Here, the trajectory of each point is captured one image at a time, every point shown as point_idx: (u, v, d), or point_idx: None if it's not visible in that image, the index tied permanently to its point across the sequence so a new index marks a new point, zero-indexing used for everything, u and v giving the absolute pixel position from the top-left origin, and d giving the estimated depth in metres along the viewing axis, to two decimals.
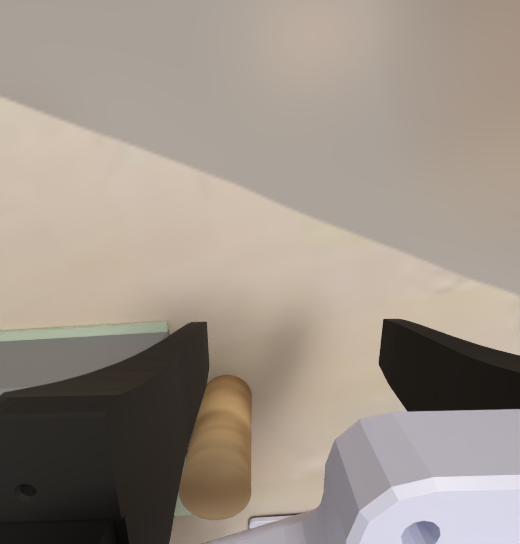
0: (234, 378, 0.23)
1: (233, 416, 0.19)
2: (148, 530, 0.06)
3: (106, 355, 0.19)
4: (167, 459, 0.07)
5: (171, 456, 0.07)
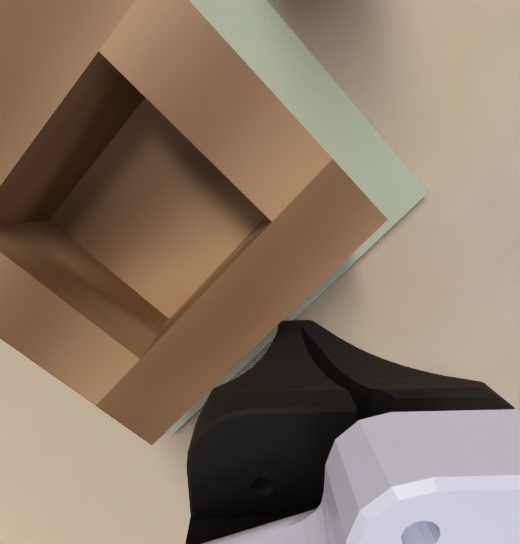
0: None
1: None
2: None
3: None
4: None
5: None
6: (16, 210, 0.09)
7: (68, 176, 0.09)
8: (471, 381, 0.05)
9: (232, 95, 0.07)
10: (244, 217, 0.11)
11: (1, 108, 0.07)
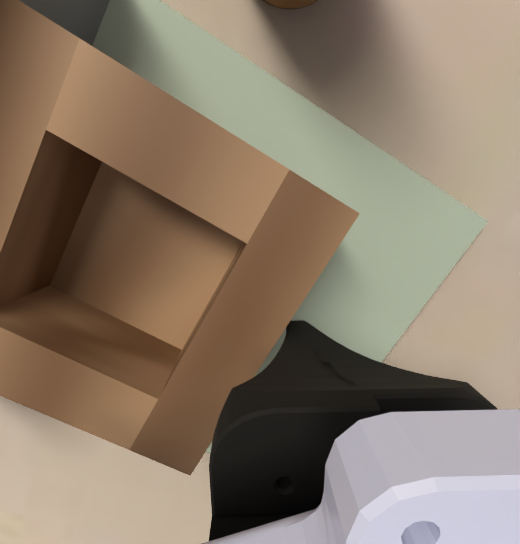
0: None
1: None
2: None
3: None
4: None
5: None
6: (15, 287, 0.09)
7: (55, 242, 0.10)
8: (456, 381, 0.05)
9: (177, 135, 0.07)
10: (227, 237, 0.11)
11: None
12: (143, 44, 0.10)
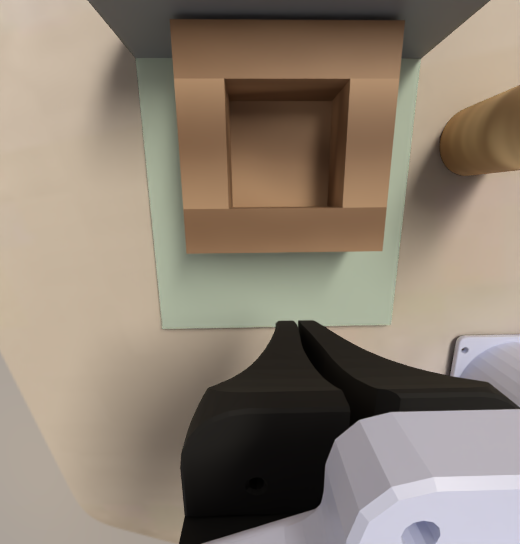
0: None
1: None
2: None
3: None
4: None
5: None
6: (238, 88, 0.14)
7: (267, 96, 0.15)
8: (477, 381, 0.05)
9: (377, 146, 0.13)
10: (317, 196, 0.17)
11: (293, 54, 0.12)
12: None
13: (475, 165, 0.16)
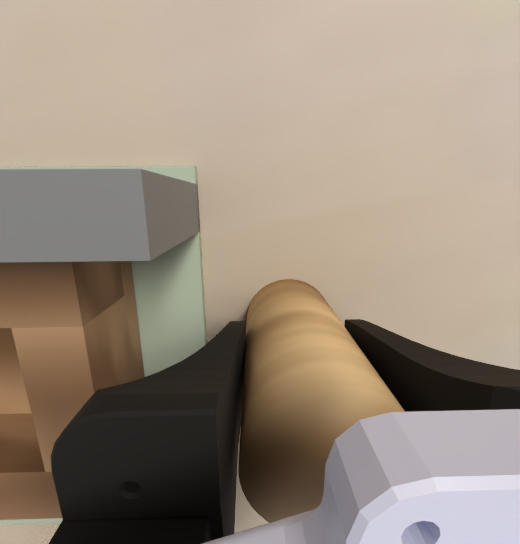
0: (305, 283, 0.13)
1: (332, 321, 0.09)
2: (228, 528, 0.06)
3: None
4: (232, 457, 0.07)
5: (233, 454, 0.07)
6: None
7: None
8: None
9: (73, 404, 0.10)
10: None
11: None
12: (167, 266, 0.13)
13: None
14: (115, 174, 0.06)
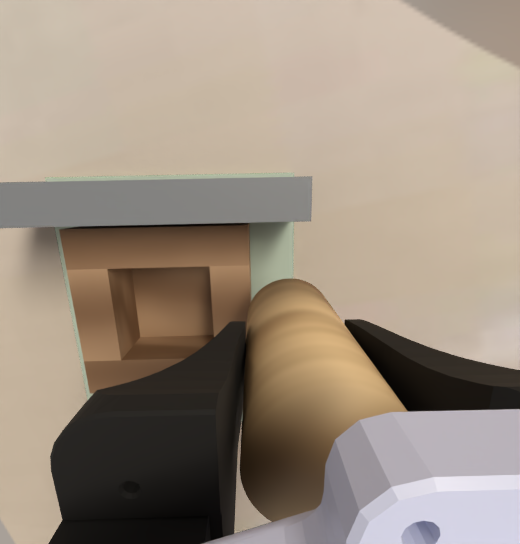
0: (306, 282, 0.13)
1: (332, 320, 0.09)
2: (228, 527, 0.06)
3: None
4: (232, 457, 0.07)
5: (233, 454, 0.07)
6: None
7: None
8: None
9: (238, 313, 0.17)
10: (211, 327, 0.20)
11: (161, 250, 0.16)
12: (272, 238, 0.20)
13: None
14: (300, 179, 0.13)
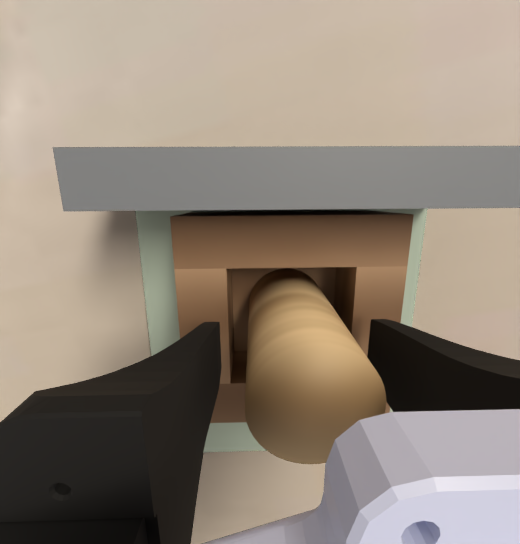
0: (301, 272, 0.15)
1: (322, 301, 0.11)
2: (174, 529, 0.06)
3: None
4: (189, 458, 0.07)
5: (192, 456, 0.07)
6: None
7: None
8: None
9: None
10: None
11: (298, 246, 0.12)
12: None
13: None
14: None
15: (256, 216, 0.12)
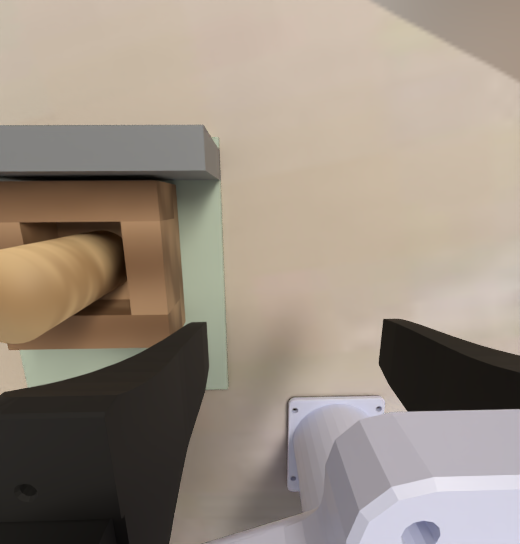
0: (111, 233, 0.19)
1: (76, 244, 0.15)
2: (148, 530, 0.06)
3: None
4: (167, 459, 0.07)
5: (171, 456, 0.07)
6: None
7: None
8: None
9: (151, 269, 0.17)
10: None
11: (71, 205, 0.16)
12: (199, 203, 0.20)
13: None
14: (191, 127, 0.13)
15: (36, 181, 0.16)
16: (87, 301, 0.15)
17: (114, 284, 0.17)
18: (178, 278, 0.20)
